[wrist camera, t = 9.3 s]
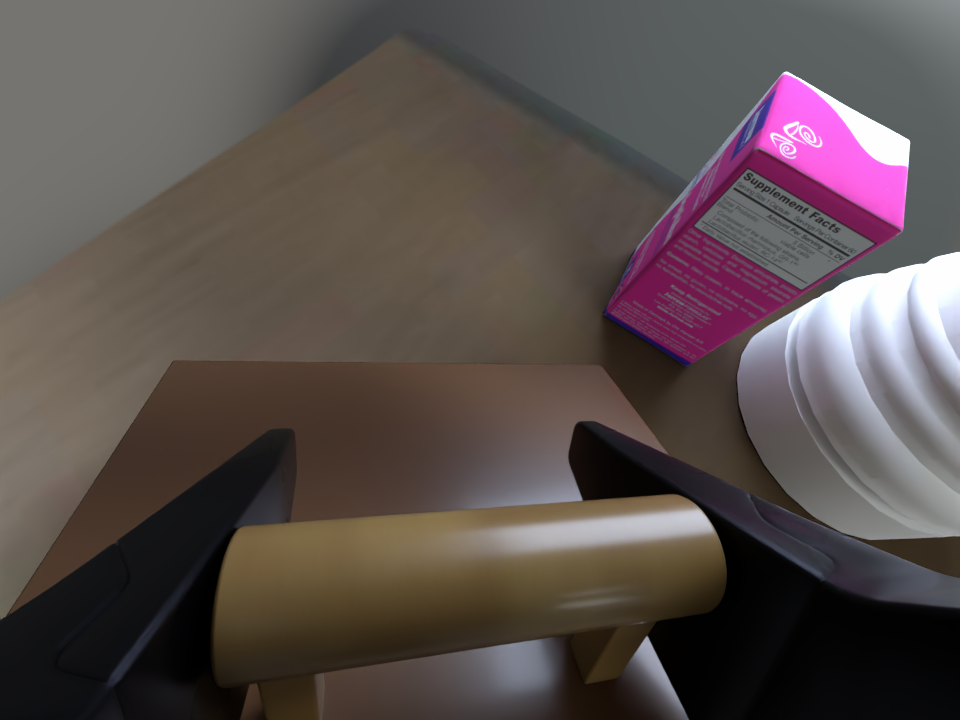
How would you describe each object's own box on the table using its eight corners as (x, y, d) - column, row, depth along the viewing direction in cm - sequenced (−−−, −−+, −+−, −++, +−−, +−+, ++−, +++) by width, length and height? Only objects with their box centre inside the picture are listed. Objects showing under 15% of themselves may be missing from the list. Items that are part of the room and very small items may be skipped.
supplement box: (629, 248, 27) (788, 63, 17) (712, 299, 27) (921, 143, 17) (595, 314, 24) (760, 140, 14) (687, 371, 24) (917, 237, 14)
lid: (848, 731, 8) (1056, 591, 6) (-201, 1005, 5) (-836, 942, 2) (596, 378, 18) (635, 266, 15) (177, 378, 14) (138, 230, 11)
